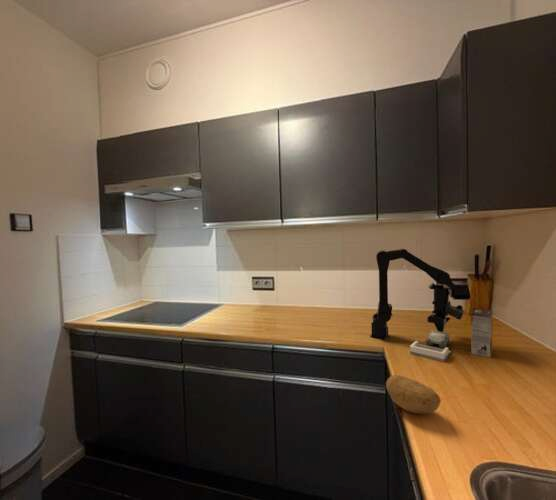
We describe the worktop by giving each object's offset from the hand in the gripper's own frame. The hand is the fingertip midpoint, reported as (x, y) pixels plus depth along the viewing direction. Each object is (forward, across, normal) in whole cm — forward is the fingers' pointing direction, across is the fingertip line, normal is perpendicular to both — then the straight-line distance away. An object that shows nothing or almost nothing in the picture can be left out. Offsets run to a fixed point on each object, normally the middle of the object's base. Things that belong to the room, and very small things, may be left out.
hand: (441, 334), depth 127 cm
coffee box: (+3, -3, -15) cm, 16 cm away
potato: (+3, -58, -7) cm, 59 cm away
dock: (+3, -16, 0) cm, 16 cm away
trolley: (+3, -6, 0) cm, 7 cm away
